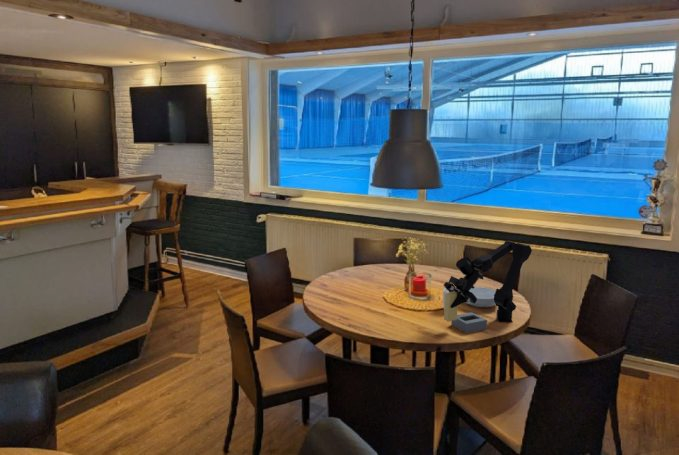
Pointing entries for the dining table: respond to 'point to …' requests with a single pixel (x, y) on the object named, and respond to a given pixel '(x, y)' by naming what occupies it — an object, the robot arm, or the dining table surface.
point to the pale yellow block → (450, 312)
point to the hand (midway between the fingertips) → (448, 306)
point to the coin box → (469, 322)
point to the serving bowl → (483, 297)
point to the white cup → (444, 297)
